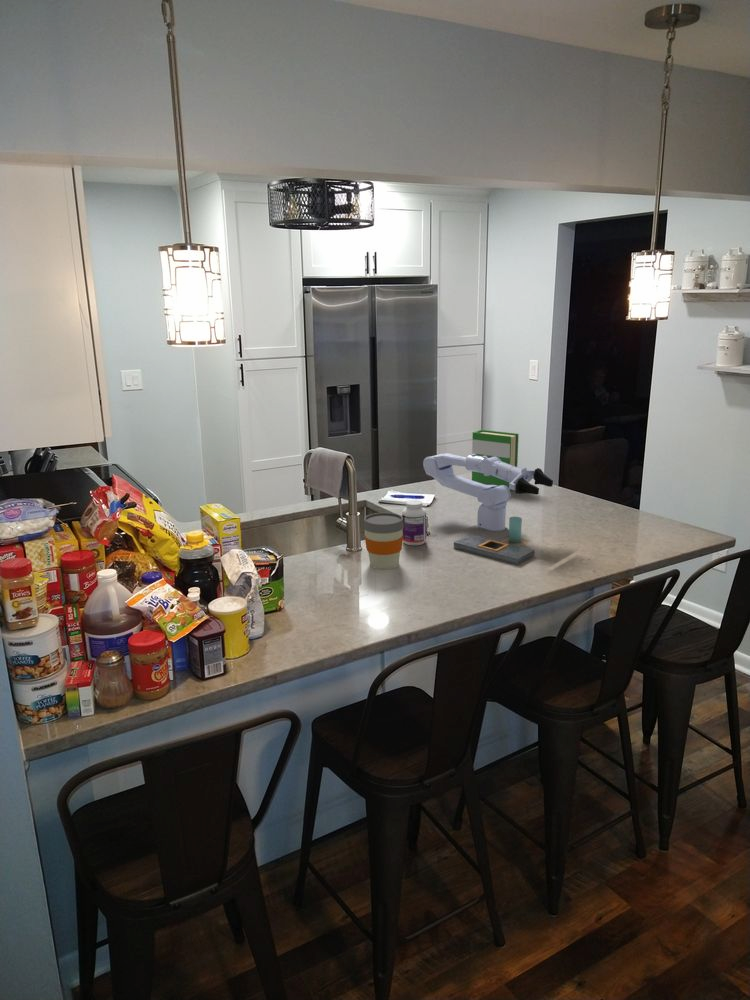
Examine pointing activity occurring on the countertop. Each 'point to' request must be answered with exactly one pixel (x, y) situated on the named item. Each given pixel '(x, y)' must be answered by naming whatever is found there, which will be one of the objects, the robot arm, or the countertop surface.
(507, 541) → the brown square coaster
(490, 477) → the hardback book
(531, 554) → the grey peg hole board
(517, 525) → the peg
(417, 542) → the pill bottle
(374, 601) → the countertop surface
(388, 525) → the reusable coffee cup
